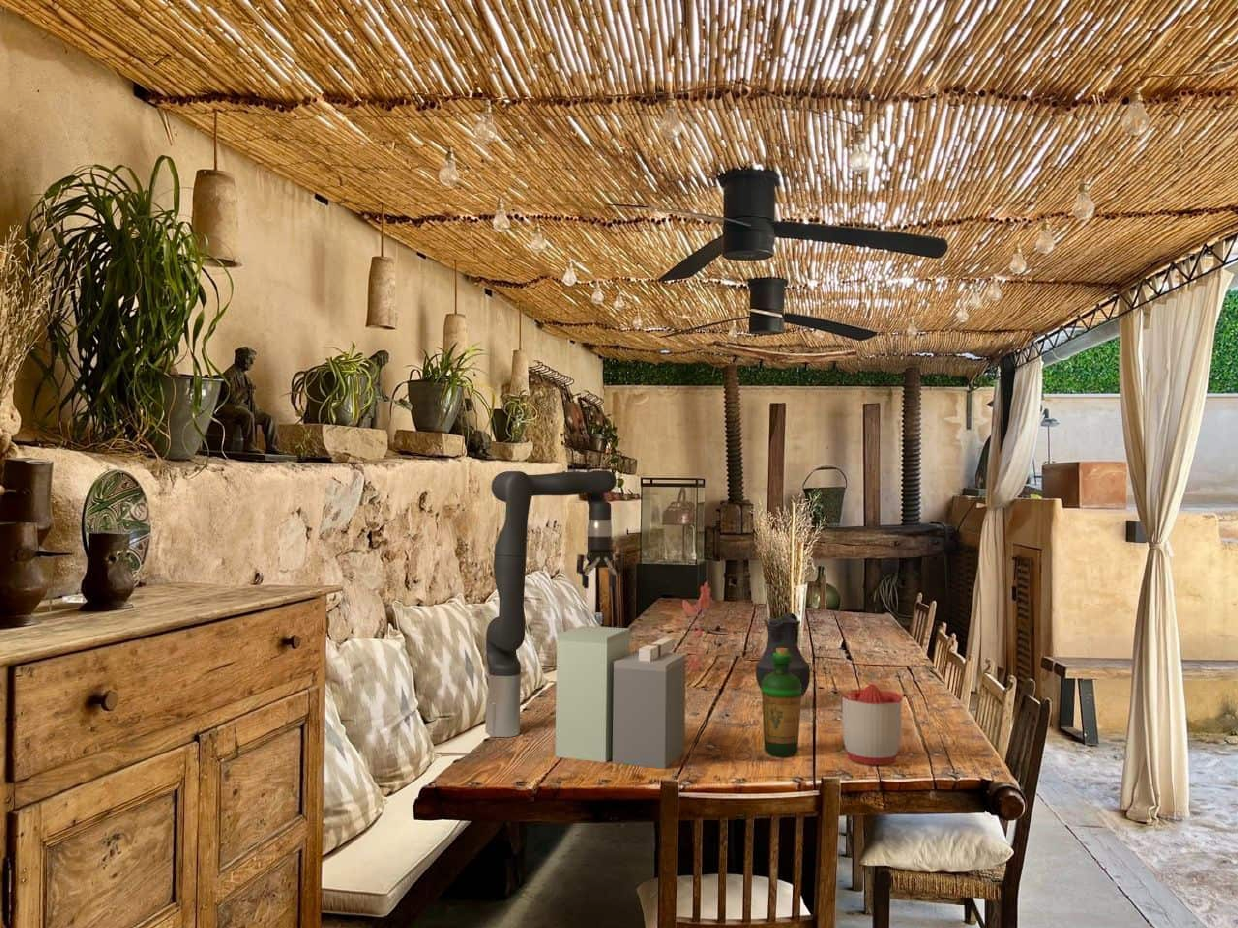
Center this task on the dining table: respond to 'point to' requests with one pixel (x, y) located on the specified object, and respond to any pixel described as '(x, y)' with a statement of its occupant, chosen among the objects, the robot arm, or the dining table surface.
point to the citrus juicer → (871, 725)
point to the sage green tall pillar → (587, 690)
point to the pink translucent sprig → (688, 609)
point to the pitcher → (783, 636)
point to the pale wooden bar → (656, 649)
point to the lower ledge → (649, 710)
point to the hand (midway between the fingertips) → (599, 587)
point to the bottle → (781, 707)
